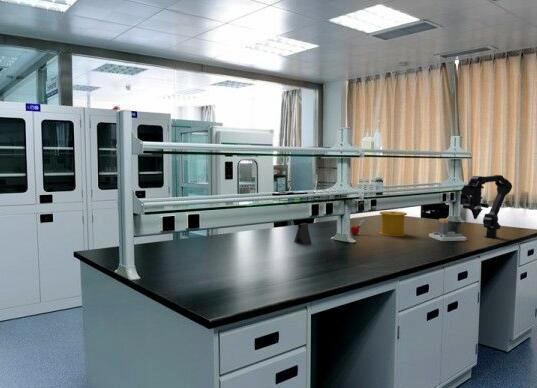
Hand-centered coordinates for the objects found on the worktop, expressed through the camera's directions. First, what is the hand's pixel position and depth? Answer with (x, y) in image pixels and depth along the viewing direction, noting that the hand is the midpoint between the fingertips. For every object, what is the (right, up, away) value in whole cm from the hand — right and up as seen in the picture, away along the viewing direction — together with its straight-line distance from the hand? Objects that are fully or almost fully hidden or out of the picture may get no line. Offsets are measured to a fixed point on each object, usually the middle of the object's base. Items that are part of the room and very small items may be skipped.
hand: (475, 219), depth 285 cm
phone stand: (-114, -14, -16) cm, 116 cm away
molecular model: (-76, -12, +14) cm, 78 cm away
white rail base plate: (-18, -13, +2) cm, 22 cm away
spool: (-49, -12, +17) cm, 53 cm away
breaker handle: (-21, -11, +1) cm, 23 cm away
